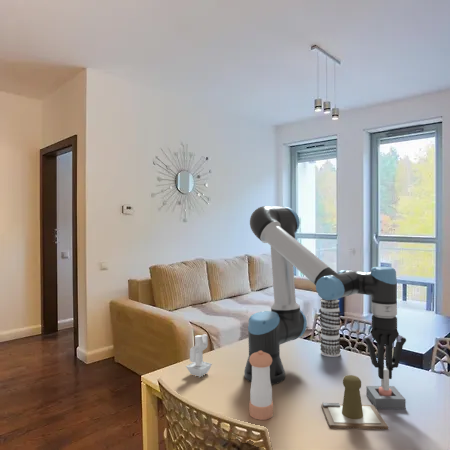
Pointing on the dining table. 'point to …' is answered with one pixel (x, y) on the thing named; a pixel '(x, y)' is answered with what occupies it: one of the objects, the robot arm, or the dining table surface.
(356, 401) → the pepper shaker
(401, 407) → the button housing
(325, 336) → the decorative candle
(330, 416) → the clipboard
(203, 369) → the figurine
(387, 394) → the button
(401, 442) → the dining table surface
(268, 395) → the pepper shaker
